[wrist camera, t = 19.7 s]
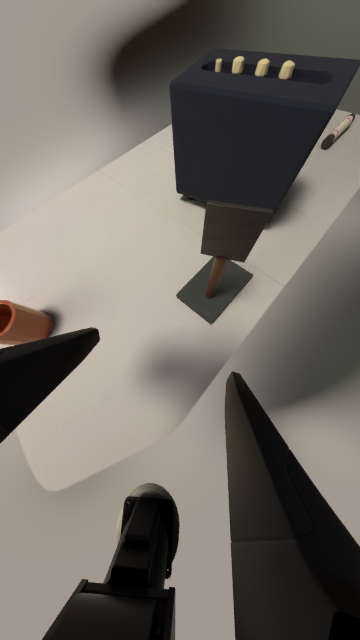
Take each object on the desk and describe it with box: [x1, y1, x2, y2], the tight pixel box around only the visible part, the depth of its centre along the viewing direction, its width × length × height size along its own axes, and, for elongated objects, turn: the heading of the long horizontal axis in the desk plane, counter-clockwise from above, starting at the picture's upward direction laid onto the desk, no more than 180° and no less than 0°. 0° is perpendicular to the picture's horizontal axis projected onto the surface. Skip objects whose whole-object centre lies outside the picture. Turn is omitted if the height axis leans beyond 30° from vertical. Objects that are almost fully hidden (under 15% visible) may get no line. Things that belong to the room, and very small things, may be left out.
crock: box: [0, 300, 52, 345], centre depth 22 cm, size 6×6×6 cm
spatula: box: [201, 200, 273, 299], centre depth 16 cm, size 2×5×14 cm, turn 72°
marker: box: [321, 114, 355, 149], centre depth 35 cm, size 15×2×2 cm, turn 137°
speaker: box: [170, 48, 360, 223], centre depth 24 cm, size 22×13×15 cm, turn 59°
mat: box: [176, 256, 253, 324], centre depth 24 cm, size 12×8×1 cm, turn 138°
